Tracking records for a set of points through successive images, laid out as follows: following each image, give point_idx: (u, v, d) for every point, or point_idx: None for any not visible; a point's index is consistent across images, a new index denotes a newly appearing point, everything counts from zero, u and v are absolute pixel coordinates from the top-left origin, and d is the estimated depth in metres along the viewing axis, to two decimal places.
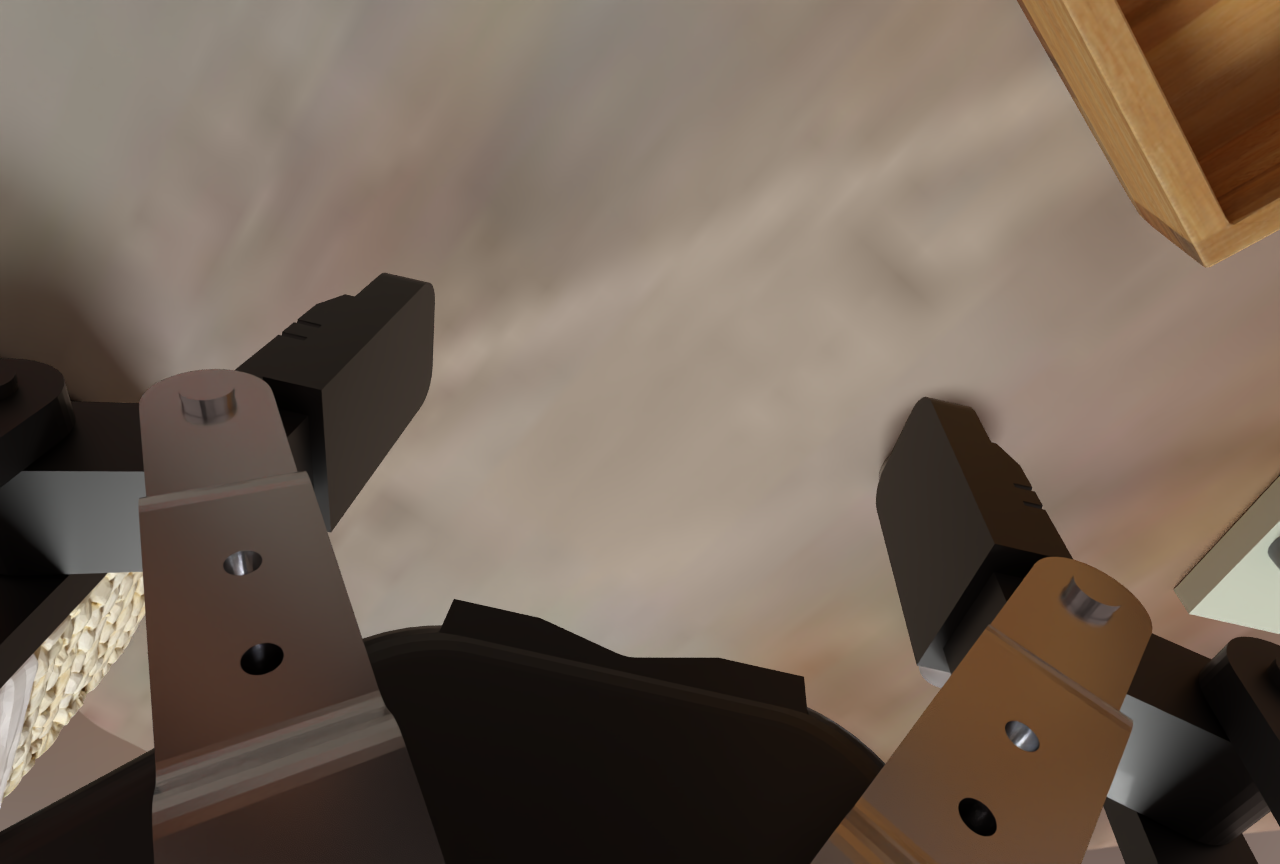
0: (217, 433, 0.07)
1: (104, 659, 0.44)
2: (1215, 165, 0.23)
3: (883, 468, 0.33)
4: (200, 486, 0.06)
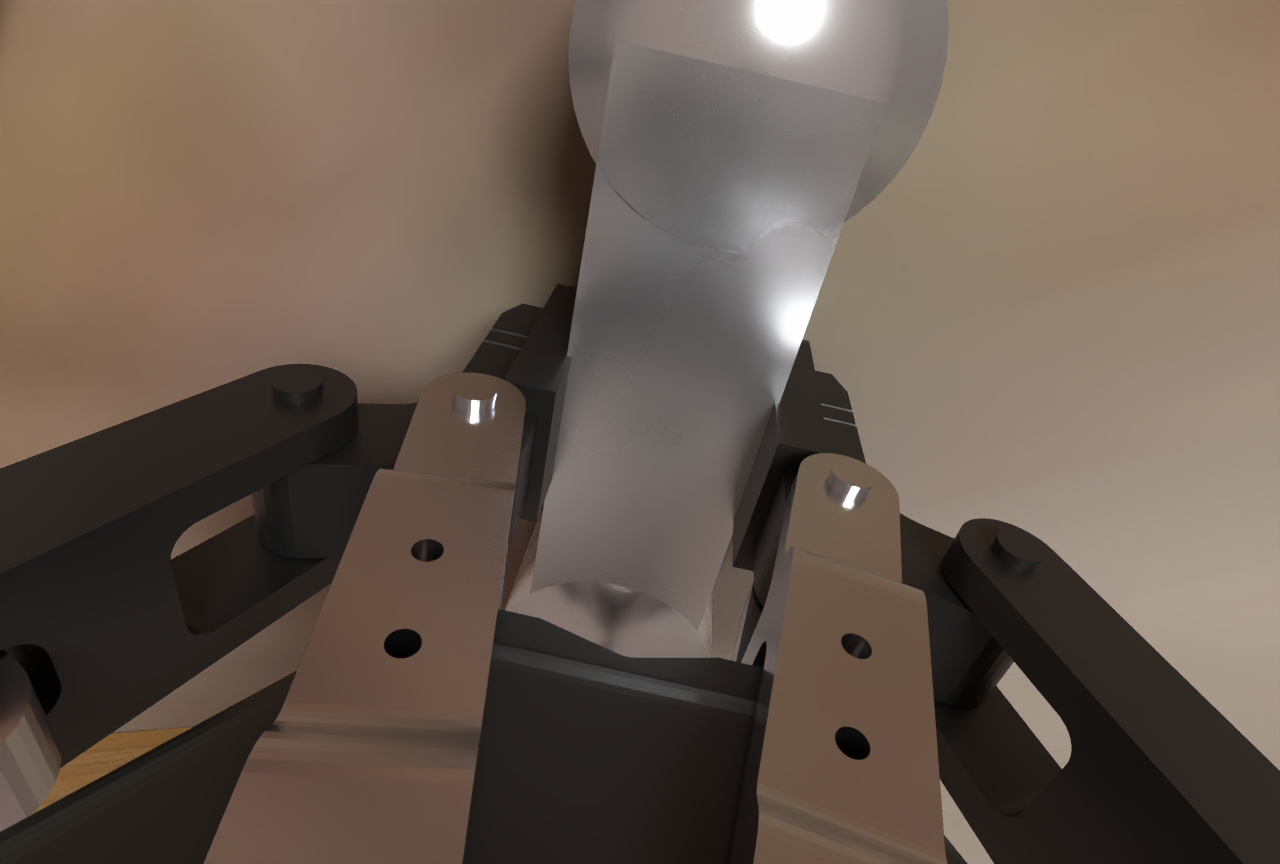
0: (468, 431, 0.08)
1: None
2: None
3: None
4: (505, 477, 0.07)
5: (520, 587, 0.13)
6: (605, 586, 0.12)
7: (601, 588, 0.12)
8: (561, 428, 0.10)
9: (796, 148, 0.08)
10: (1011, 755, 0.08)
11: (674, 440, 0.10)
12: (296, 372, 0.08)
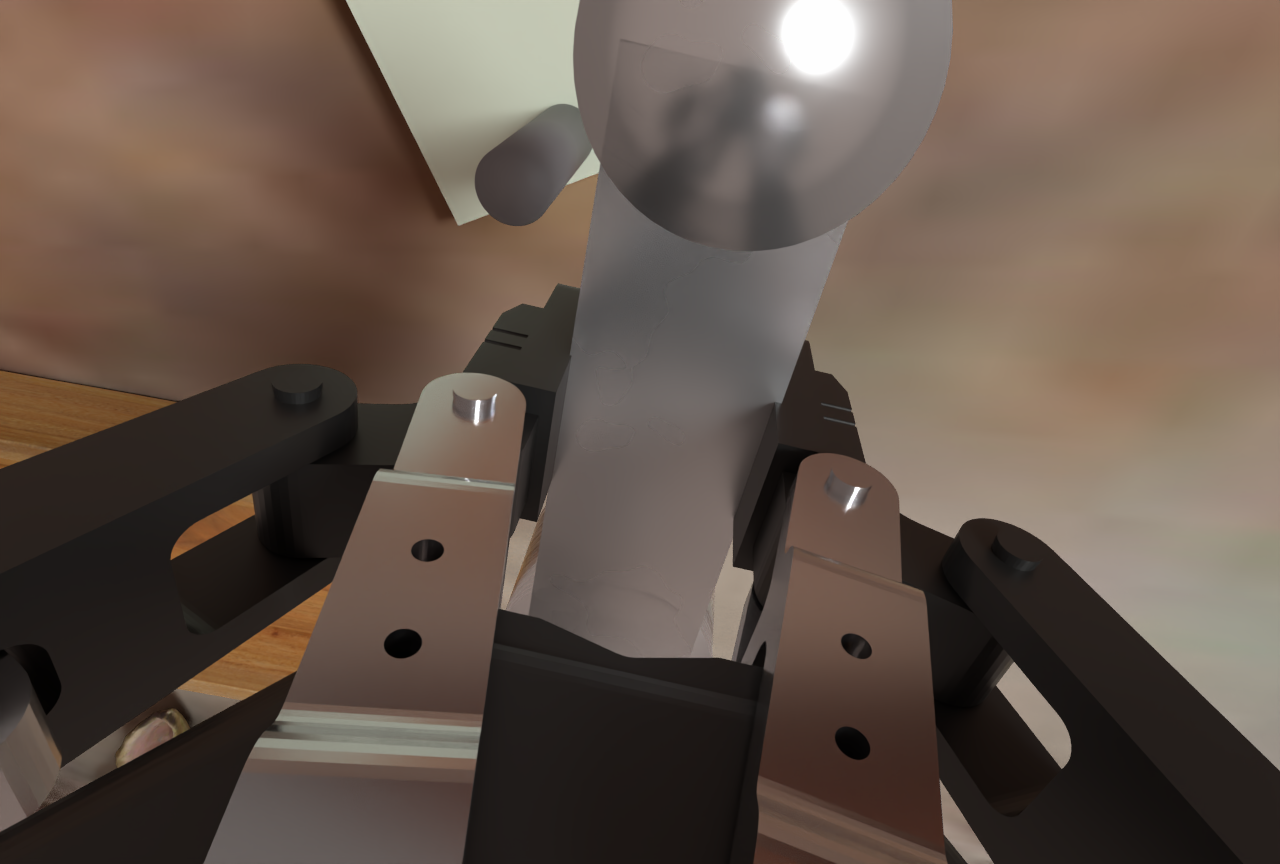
0: (468, 431, 0.08)
1: None
2: None
3: None
4: (505, 477, 0.07)
5: (522, 585, 0.13)
6: (607, 585, 0.12)
7: (603, 587, 0.12)
8: (564, 426, 0.11)
9: (800, 146, 0.08)
10: (1011, 755, 0.08)
11: (677, 439, 0.10)
12: (296, 372, 0.08)
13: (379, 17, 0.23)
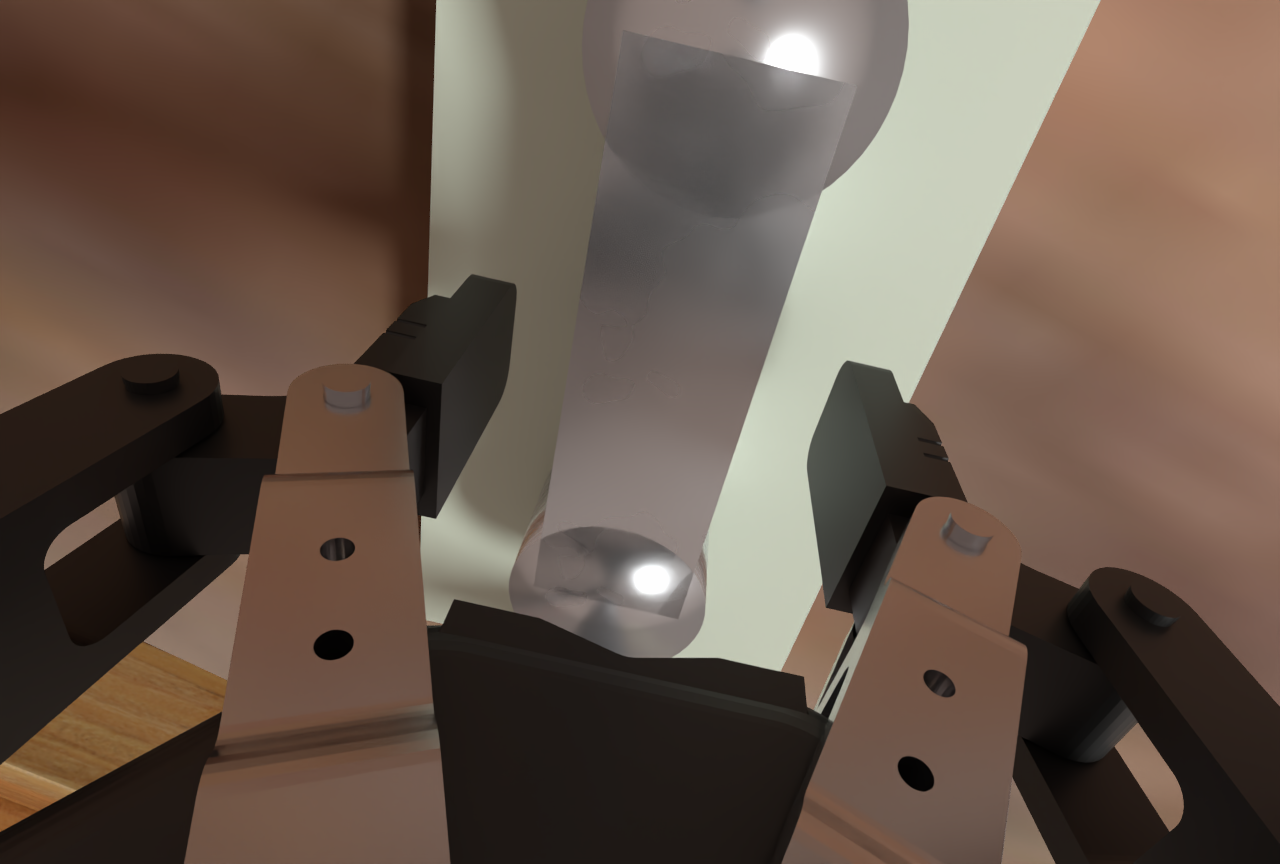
0: (348, 423, 0.08)
1: None
2: None
3: None
4: (360, 470, 0.07)
5: (531, 534, 0.14)
6: (610, 530, 0.13)
7: (606, 533, 0.13)
8: (571, 380, 0.12)
9: (778, 125, 0.09)
10: (1122, 820, 0.08)
11: (672, 391, 0.12)
12: (146, 362, 0.07)
13: None
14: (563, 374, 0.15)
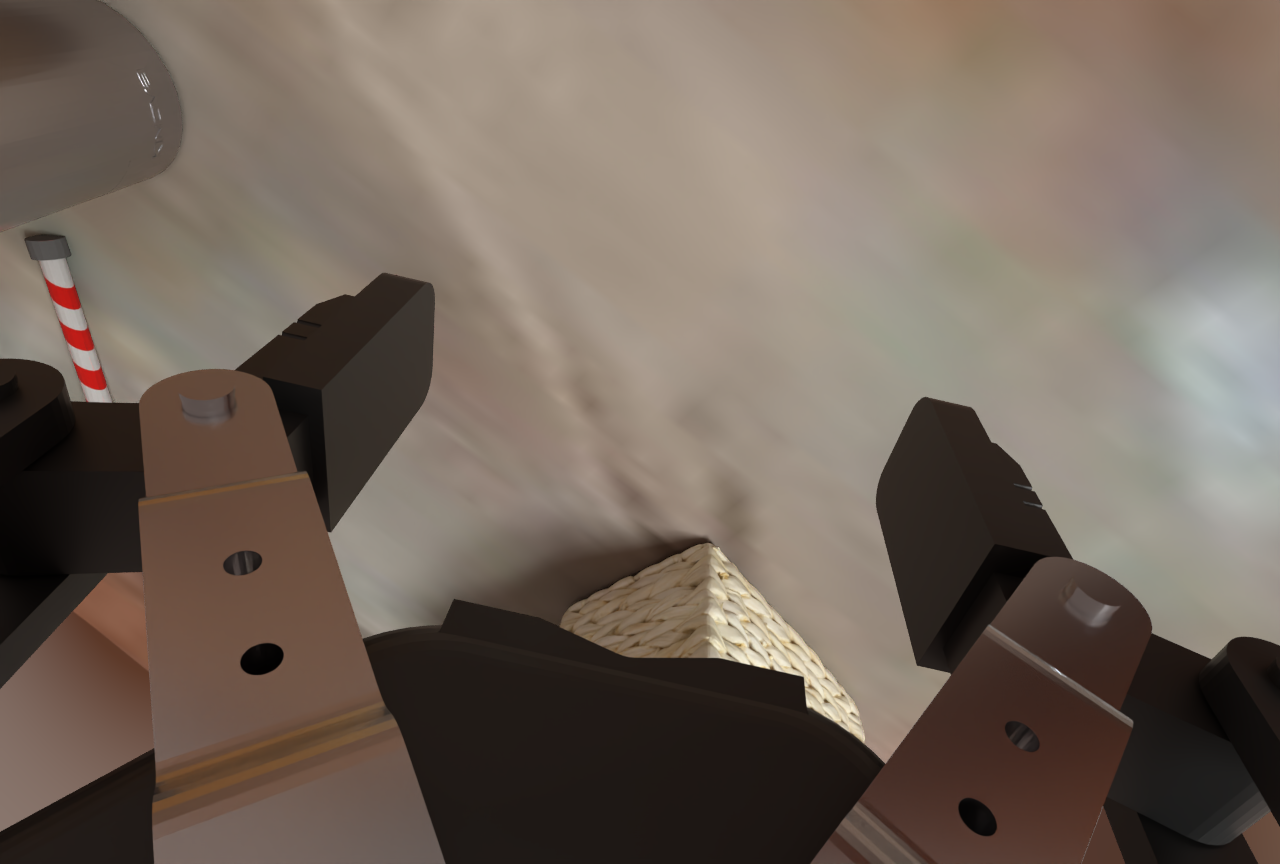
0: (218, 433, 0.07)
1: (834, 705, 0.53)
2: None
3: None
4: (200, 486, 0.06)
5: None
6: None
7: None
8: None
9: None
10: None
11: None
12: None
13: None
14: None
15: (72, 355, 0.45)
